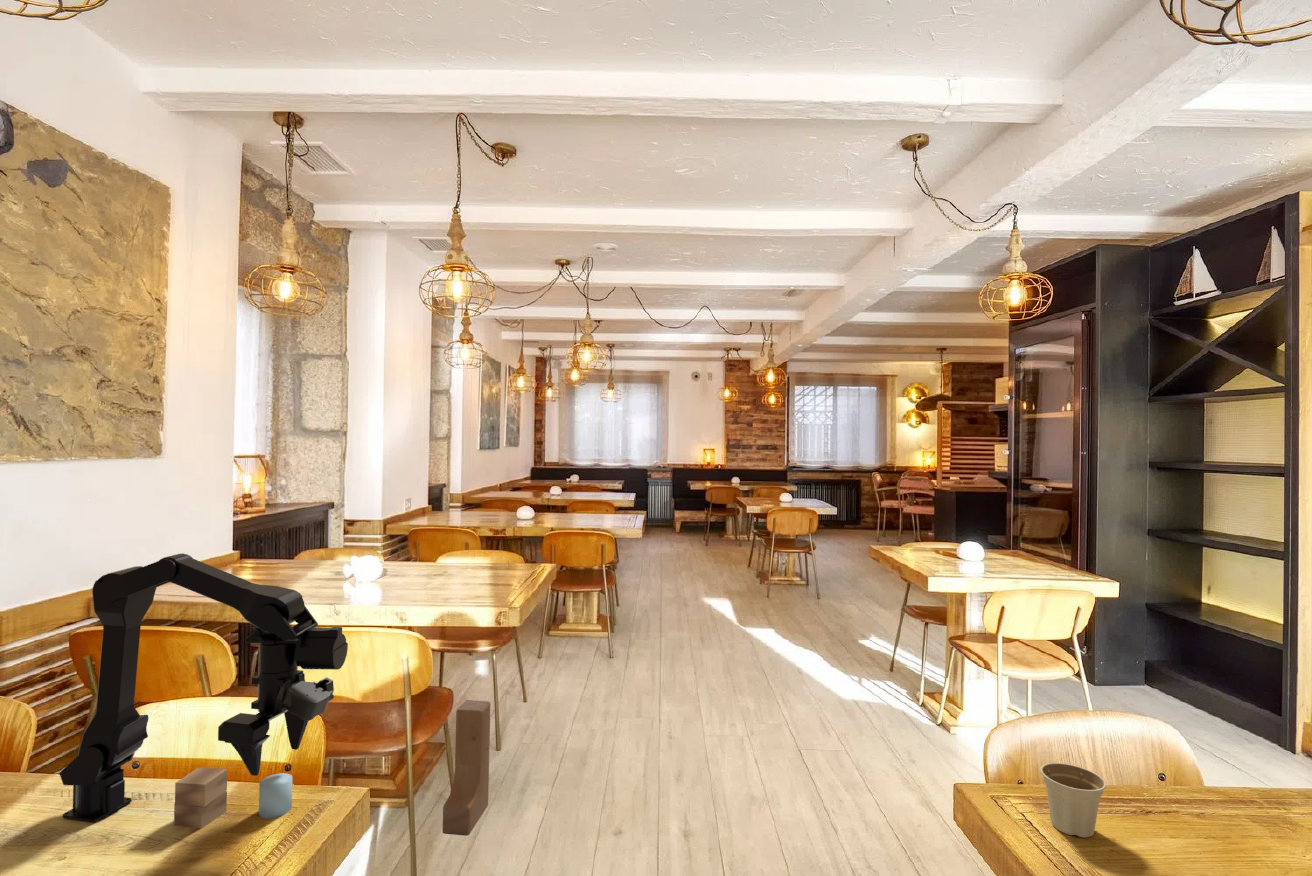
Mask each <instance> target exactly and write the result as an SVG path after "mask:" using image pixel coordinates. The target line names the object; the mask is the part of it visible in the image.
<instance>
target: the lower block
mask: <svg viewBox="0 0 1312 876" xmlns="http://www.w3.org/2000/svg"><path fill="white" fill-rule="evenodd" d="M227 800H228V791H227V790H226V791H225V792H224V793H222V794H221V795H220V796H218V797H217V798H216V799H214V800H213V801H212V802H210V803H209V804H208V805H206V806H205V807H203V806H185V805H175V803H174V807H173V808H174V810H173V815H174V816H173V825H174V826H177V825H178V827H184V828H185V827H187V828H192V829H193V828H194V829H200V830H202V829H203V828H205V827H206V826H208V825H210V824H211V823H212V822H213V821H215V820H216V819H218V818H220V817H221V816H222V815H224V814H225V813H227V807H228V806H227V804H228V803H227V802H228V801H227Z"/></svg>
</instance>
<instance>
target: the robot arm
mask: <svg viewBox="0 0 1312 876" xmlns="http://www.w3.org/2000/svg"><path fill="white" fill-rule="evenodd" d="M168 583H172V584H174V585H177V586H179V587H181V588H184V589H187V590H189V591H191V592H194V593H196V594H198V595H201V596H204V597H206V598H209V599H210V600H213V601H216V602H218V603H221V604H223V605H226V606H227V607H228V606H229V607H230V608H233V609H234V610H236V611H237V612H238V613H240V614H241V616H242V617H243V619H245V621H247V622H248V623H250V624H251V625H252V626H255V627H256V628H255V629H254V631H253V632H252V633H251V634H250V635H249V636H248V637H246V638H245V639H244V642H245V643H246V644H258V667H257V669H258V671H257V672H258V674H257V675H254V676H253V677H251V684H253V685H257V699H256V700H254V701H252V702H251V703H250V705H251V706H250V709H252V710H258V711H257V713H256V714H254V713H242V712H239V713H237V714H235V715H234V716H232V717H230V718H228V719H226V720H224V721H222V722H221V724H219V725H218V727H217V729H218V730H217V741H218V742H219V741H220V742H224V743H227V744H230V745H231V746H232V747H233V748H234V750H235V751H236V752H237V753H238V755H239V757H240V759H241V760H242V763H244V766H245V767H246V769H247V770H248V773H249V774H250V775H251V776H254V777H257V776H258V775H259V774H260V770H261V769H260V768H261V760H262V753H263V751H262V750H263V744H264V743H265V742H266V741H267V740H268V739H269V738H270V736H271V735H269V734H267V733H268V732H269V730H270V721H272V720H274V719H276V718H278V717H280V716H281V715H283V714H284V720H285V725H286V730H287V737H288V741H289V744H290V745H289V746H290V748H291V750H299V749H300V747H301V746H300V745H301V742H302V740H303V738H304V734H305V732H306V729H307V727H308V726H307V725H308V724H309V721H311V720H314V718H315V717H317V716H318V715H321V714H324V713H325V711H326V708H327V705H328V703H329V702H330V701H333V699H334V698H335V695H334V690H335V686H334V680H333V679H331V678H329V677H327V676H326V677H325V678H322V679H320V680H319V681H318V682H316V681H312V682H311V681H306V677H305V673H304V670H335V671H336V670H340V669H341V668H342V667H343V666H344V664H345V662H346V659H347V655H348V647H349V646H348V645H349V643H348V642H347V638H346V636H345V635H344V634H343V627H342V626H332V627H318V626H319V623H318V621H317V620H316V619H315V617H314V616H313V615H312V614H311V613H312V612H310V611H309V610H308V607H306V605H305V600H304V599H303V595H302V594H301V593H300V592H299V591H297V590H295V589H292V588H288V587H283V586H278V585H267V584H258V583H254V582H251V581H249V580H246V579H244V578H242V577H240V576H236V575H234V574H232V573H230V572H227V571H224V570H223V569H219V568H218V567H214V566H212V565H211V564H208V563H205V562H202V561H200V560H198V559H195V558H193V557H192V556H191V555H190V554H187V553H177V554H172V555H168V556H165V557H162V558H160V559H158V560H157V561H154V562H153V563H149V564H148V565H144V566H142V565H141V566H132V567H128V568H124V569H120V570H116V571H113V572H109V573H106V574H103V575H102V576H100V577H99V578H98V579H97V580H95V581H94V583H93V585H92V589H91V590H92V592H91V593H92V604H93V611H94V613H95V615H96V616H97V618H98V619H99V622H101V624H102V640H101V647H100V648H101V649H100V651H101V652H100V660H99V661H100V663H99V671H98V673H99V675H98V685H97V696H96V708H95V714H94V715H93V717H92V719H91V720H90V722H89V724H88V725H87V727H86V729H85V730H84V733H83V734H82V738H81V741H80V745H79V748H78V753H77V756H76V757H75V758H74V759H73V760H72V761H70V763H69V764H67V765H66V767H64V768H63V769H62V770H61V771H60V772H59V777H60V779H61V783H62V785H64V786H72V808H71V809H70V810H68V811H66V812H64V813H63V814H62V818H64V819H70V820H76V821H85V822H90V823H91V822H92V823H96V822H98V821H100V820H102V819H103V818H106V817H107V816H109V815H110V814H112V813H114V812H116V811H117V810H119V809H121V808H123V807H125V806H126V805H128V804H130V803H132V801H133V799H132V797H127V796H126V795H125V794H126V793H125V789H126V788H125V787H126V783H125V779H124V773H125V772H124V771H125V769H124V768H122V766H123V765H125V764H126V763H128V762H131V761H132V760H133V757H134V755H135V753H136V752H137V751H138V750H139V749H140V748H141V747H142V745H143V743H144V740H145V739H147V738H148V737H149V735H148V731H147V726H148V722H149V715H148V714H140V713H139V712H138V711H137V709H136V707H135V695H136V687H137V686H136V682H137V672H138V660H139V649H140V638H141V629H142V628H141V627H142V620H143V619H144V617H145V616H146V614H147V613H148V610H149V609H150V607H151V606H152V604H153V602H154V598H155V595H156V590H157V588H158V587H161V586H164V585H166V584H168ZM294 622H295V623H296V624H295V625H293V626H292V625H291V624H293V623H294ZM298 667H300V668H301V669H302V670H299V669H298Z"/></svg>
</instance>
